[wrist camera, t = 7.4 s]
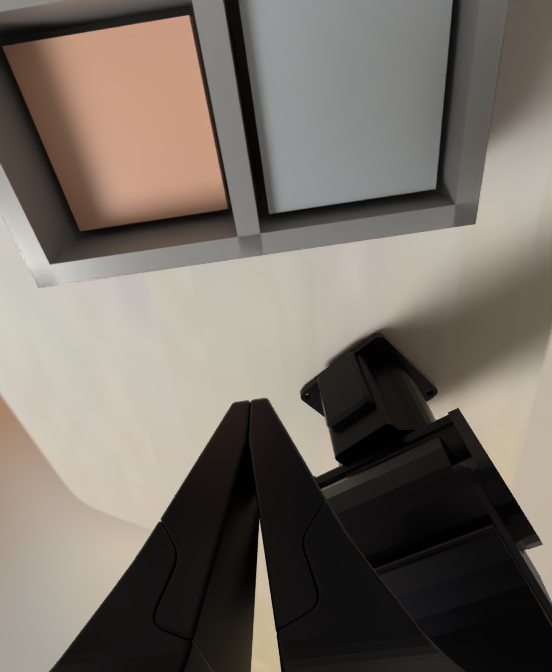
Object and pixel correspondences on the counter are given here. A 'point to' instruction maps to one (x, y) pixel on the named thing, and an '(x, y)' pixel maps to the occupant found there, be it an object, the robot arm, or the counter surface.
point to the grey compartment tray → (230, 152)
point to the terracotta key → (125, 121)
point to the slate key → (346, 96)
